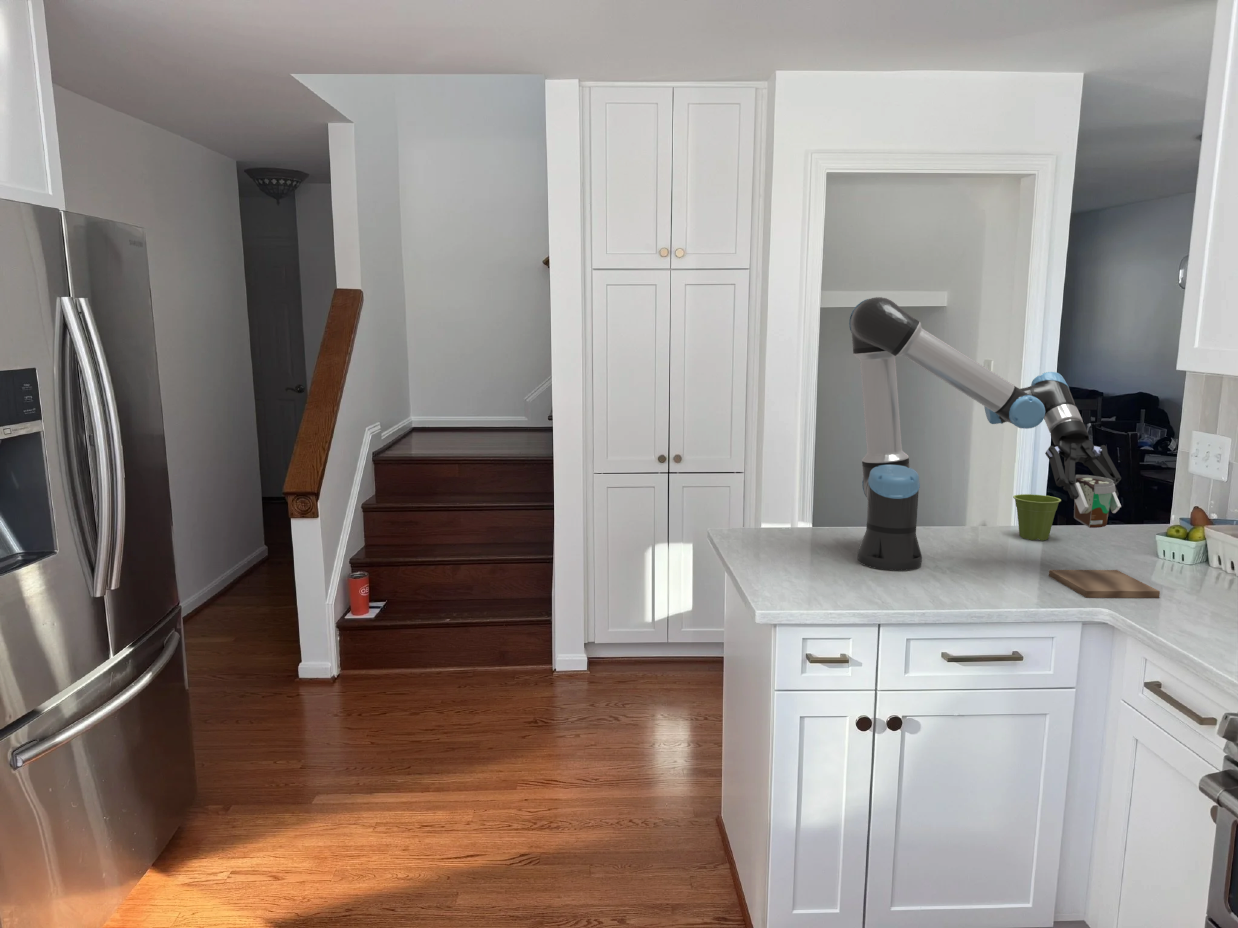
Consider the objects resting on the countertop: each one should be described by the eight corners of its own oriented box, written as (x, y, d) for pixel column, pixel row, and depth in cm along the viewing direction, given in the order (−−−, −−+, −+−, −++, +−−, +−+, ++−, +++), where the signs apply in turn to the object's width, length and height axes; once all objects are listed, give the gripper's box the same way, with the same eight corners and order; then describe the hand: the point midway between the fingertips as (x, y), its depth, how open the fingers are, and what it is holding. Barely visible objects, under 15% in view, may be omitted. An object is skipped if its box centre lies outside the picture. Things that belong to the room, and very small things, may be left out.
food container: (1122, 530, 188) (1126, 485, 186) (1092, 529, 188) (1095, 484, 187) (1099, 517, 200) (1103, 474, 198) (1071, 516, 201) (1074, 474, 199)
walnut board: (1085, 597, 186) (1086, 590, 186) (1048, 575, 202) (1049, 569, 201) (1159, 597, 186) (1159, 591, 186) (1116, 576, 202) (1116, 569, 202)
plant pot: (1059, 536, 239) (1062, 496, 237) (1055, 545, 229) (1059, 504, 227) (1012, 530, 245) (1016, 491, 243) (1007, 539, 235) (1010, 499, 233)
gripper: (1099, 437, 209) (1135, 518, 195) (1019, 438, 208) (1050, 519, 195) (1114, 417, 202) (1152, 500, 189) (1032, 419, 202) (1064, 501, 189)
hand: (1100, 509), depth 192 cm, fingers closed on food container, 7 cm apart
